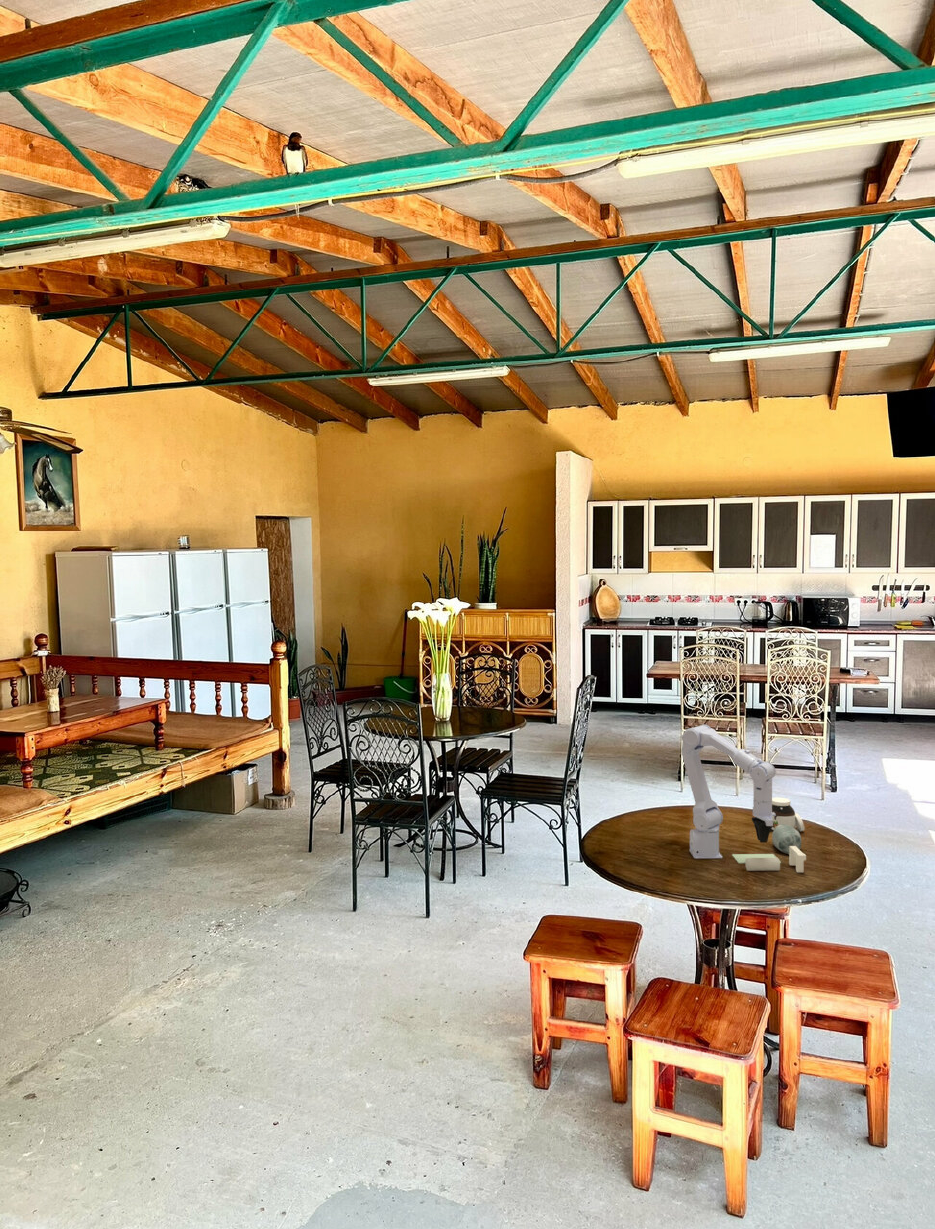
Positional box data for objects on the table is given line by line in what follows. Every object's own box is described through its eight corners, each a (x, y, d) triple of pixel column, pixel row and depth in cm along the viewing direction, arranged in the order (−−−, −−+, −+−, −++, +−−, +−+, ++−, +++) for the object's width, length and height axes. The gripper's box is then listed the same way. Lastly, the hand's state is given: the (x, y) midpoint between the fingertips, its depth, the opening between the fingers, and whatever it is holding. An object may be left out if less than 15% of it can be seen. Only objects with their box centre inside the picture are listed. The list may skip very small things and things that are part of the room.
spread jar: (762, 828, 324) (762, 798, 323) (783, 824, 329) (784, 793, 328) (787, 837, 313) (788, 806, 312) (809, 832, 318) (810, 801, 317)
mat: (738, 863, 288) (738, 862, 288) (731, 855, 296) (731, 854, 296) (781, 863, 288) (781, 862, 288) (773, 854, 296) (773, 853, 296)
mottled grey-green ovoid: (809, 849, 291) (794, 821, 294) (783, 861, 293) (768, 833, 295) (804, 845, 304) (790, 819, 307) (779, 857, 306) (765, 830, 308)
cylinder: (748, 873, 281) (749, 861, 280) (744, 867, 285) (745, 855, 284) (779, 872, 280) (780, 861, 280) (775, 866, 284) (776, 855, 284)
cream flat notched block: (798, 874, 277) (798, 855, 276) (788, 864, 286) (788, 846, 285) (805, 874, 277) (806, 855, 276) (795, 864, 286) (796, 846, 285)
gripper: (782, 806, 274) (782, 848, 274) (767, 793, 288) (767, 833, 289) (760, 806, 274) (760, 848, 275) (746, 793, 288) (746, 834, 289)
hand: (762, 841), depth 282 cm, fingers closed
